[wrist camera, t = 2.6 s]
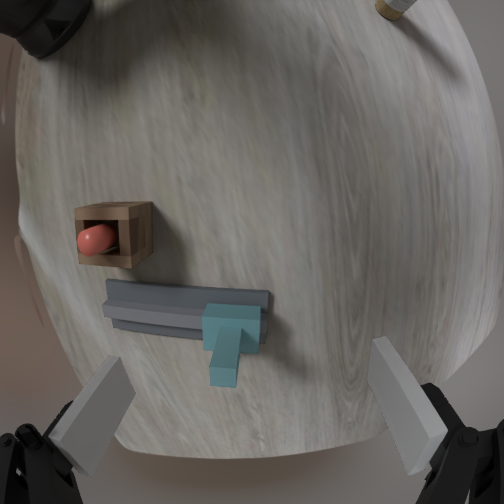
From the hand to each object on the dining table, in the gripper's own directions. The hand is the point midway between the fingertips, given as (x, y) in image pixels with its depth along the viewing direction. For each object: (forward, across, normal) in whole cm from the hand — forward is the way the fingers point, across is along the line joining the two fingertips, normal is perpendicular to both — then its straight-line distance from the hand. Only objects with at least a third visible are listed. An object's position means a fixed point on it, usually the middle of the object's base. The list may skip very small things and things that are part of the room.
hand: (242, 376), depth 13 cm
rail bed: (+24, -11, -7) cm, 28 cm away
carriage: (+22, -4, -9) cm, 24 cm away
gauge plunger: (+18, -17, +6) cm, 26 cm away
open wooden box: (+24, -17, +6) cm, 30 cm away
